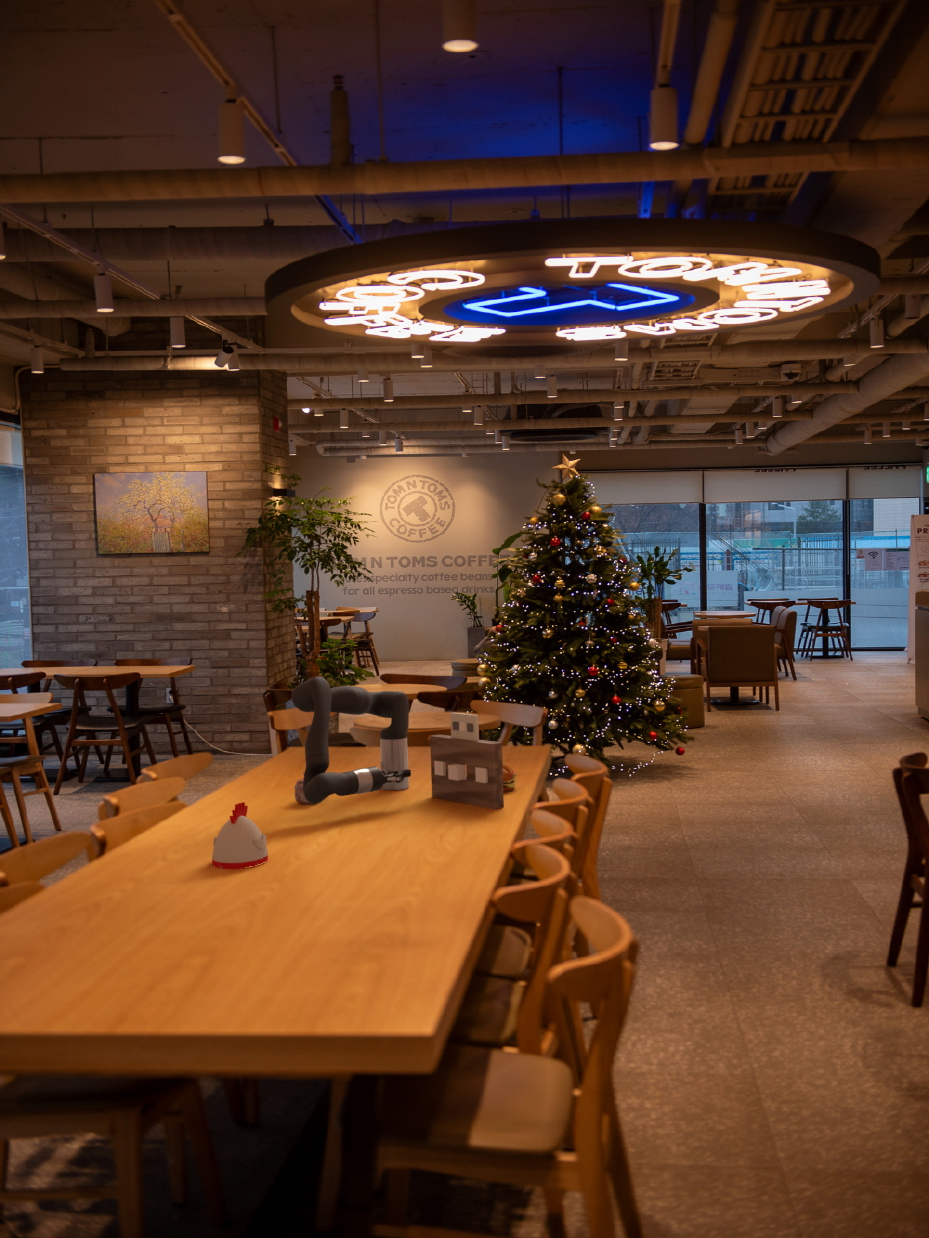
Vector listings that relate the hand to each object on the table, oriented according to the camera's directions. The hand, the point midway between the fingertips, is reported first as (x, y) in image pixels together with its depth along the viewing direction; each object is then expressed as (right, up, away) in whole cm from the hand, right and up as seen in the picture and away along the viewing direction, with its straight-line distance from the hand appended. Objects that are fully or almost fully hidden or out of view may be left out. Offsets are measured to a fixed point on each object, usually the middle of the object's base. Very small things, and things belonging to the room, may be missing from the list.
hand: (409, 772), depth 338 cm
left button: (+11, -2, +9) cm, 14 cm away
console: (+18, -10, +3) cm, 21 cm away
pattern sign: (+17, +10, +2) cm, 20 cm away
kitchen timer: (-40, -14, -65) cm, 78 cm away
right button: (+24, -2, -6) cm, 24 cm away
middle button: (+15, -2, 0) cm, 15 cm away
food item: (-32, -11, +11) cm, 36 cm away
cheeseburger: (+30, -9, +22) cm, 38 cm away
